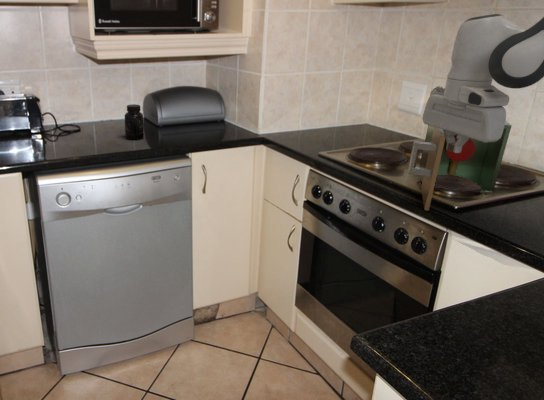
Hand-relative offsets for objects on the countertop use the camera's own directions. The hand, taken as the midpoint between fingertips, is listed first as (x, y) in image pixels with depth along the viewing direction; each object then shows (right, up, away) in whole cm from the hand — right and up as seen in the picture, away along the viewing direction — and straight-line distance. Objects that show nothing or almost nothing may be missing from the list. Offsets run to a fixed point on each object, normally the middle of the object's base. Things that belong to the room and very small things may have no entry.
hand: (453, 151), depth 112 cm
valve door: (-3, -11, +13) cm, 17 cm away
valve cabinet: (+13, -7, +23) cm, 27 cm away
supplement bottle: (-82, +11, +64) cm, 105 cm away
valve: (+14, -4, +25) cm, 29 cm away
